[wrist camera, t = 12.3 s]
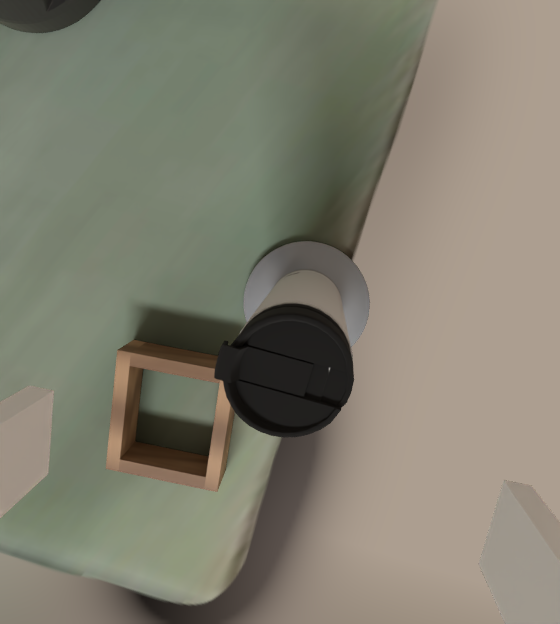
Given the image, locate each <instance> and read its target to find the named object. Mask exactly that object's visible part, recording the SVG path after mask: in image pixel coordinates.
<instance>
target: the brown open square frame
mask: <svg viewBox="0 0 560 624" xmlns="http://www.w3.org/2000/svg"><path fill="white" fill-rule="evenodd" d="M217 358H218V356H216V355H210V354H205V353H200V352H195V351H189V350H184V349H179V348H174V347H169V346H163V345H158V344H153V343H148V342H142V341H137V340H133V341H131V342H130V343H128V344H126V345H125V346H123V347H122V348H120V349H118V350H117V360H116V370H115V380H114V391H113V401H112V411H111V421H110V432H109V442H108V452H107V462H106V469H110V470H114V471H119V472H124V473H129V474H134V475H138V476H143V477H148V478H153V479H158V480H162V481H167V482H172V483H177V484H182V485H186V486H191V487H196V488H201V489H206V490H210V491H215V492H217V491H218V488H219V486H220V483H221V481H222V478H223V476H224V473H225V470H226V463H227V457H228V451H229V444H230V438H231V431H232V425H233V419H234V412H235V411H234V410H233V408H232V407H231V405H230V403H229V401H228V399H227V397H226V393H225V390H224V384H223V381H221V380H218V379H215V378H214V372H215V366H216V362H217ZM143 369H148V370H153V371H159V372H164V373H169V374H174V375H179V376H184V377H189V378H195V379H200V380H205V381H210V382H215V383H220V385H219V392H218V398H217V405H216V412H215V419H214V425H213V432H212V439H211V446H210V453H209V456H204V455H199V454H194V453H189V452H184V451H179V450H174V449H169V448H165V447H160V446H155V445H150V444H145V443H140V442H135V439H136V430H137V420H138V411H139V402H140V393H141V384H142V375H143Z"/></svg>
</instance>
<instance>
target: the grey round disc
mask: <svg viewBox="0 0 560 624" xmlns="http://www.w3.org/2000/svg"><path fill="white" fill-rule="evenodd" d="M300 269H310V270H316V271H318V272H321V273H323V274H324V275H326V276H328V277H329V278H330V279H331V280H332V281H333V282H334V284H335V285H336V287H337V288H338V290H339V293H340V296H341V301H342V306H343V311H344V316H345V320H346V325H347V330H348V335H349V340H350V345H351V347H352V346H353V345H354V344H355V343H356V341H357V340H358V339H359V337H360V335H361V334H362V332H363V330H364V328H365V325H366V322H367V319H368V315H369V302H370V301H369V293H368V288H367V285H366V282H365V280H364V277H363V275H362V274H361V272H360V270H359V268H358V267H357V266H356V265H355V263H354V262H353V261H352V260H351V259H350V258H349V257H348V256H347V255H345V254H344V253H343V252H341V251H340V250H338V249H336V248H334V247H332V246H330V245H327V244H324V243H320V242H313V241H299V242H293V243H289V244H286V245H283V246H281V247H279V248H277V249H275V250H274V251H272V252H270V253H269V254H268V255H266V256H265V257H264V258H263V259H262V260H261V261H260V262H259V263H258V264H257V266H256V267H255V268H254V270H253V271H252V273H251V275H250V277H249V279H248V282H247V285H246V288H245V293H244V313H245V318H246V321H247V322H248V320H249V319H250V317H251V316H252V315H253V314H254V312H255V311H256V310H257V308H258V307H259V306H260V304H261V303H262V302H263V300H264V299H265V298H266V297H267V295H268V294H269V293H270V291H271V290H272V289H273V287H274V286H275V285H276V283H277V282H278V281H279V280H280V279H281V278H282V277H284V276H285V275H286V274H288V273H290V272H293V271H296V270H300Z"/></svg>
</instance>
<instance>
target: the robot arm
mask: <svg viewBox="0 0 560 624" xmlns="http://www.w3.org/2000/svg"><path fill="white" fill-rule="evenodd" d="M99 1H100V0H0V24H2V25H5V26H7V27H9V28H12V29H15V30H19V31H23V32H30V33H46V32H52V31H56V30H60V29H63V28H65V27H68V26H70V25H72V24H74V23H75V22H77V21H79V20H80V19H82V18H83V17H84V16H86V15H87V14H88V13H89V12H90V11H91V10H92V9H93V8H94V7H95V6H96V5H97V4H98V2H99ZM53 395H54V390H49V389H44V388H39V387H34V386H28V387H26V388H24V389H22V390H20V391H19V392H17V393H15V394H13V395H12V396H10V397H8V398H6V399H4V400H3V401H1V402H0V518H1V517H2V516H3V515H4V514H5V513H6V512H7V511H8V510H10V509H11V508H12V507H13V506H14V505H15V504H16V503H17V502H18V501H19V500H20V499H22V498H23V497H24V496H25V495H26V494H27V493H28V492H29V491H30V490H31V489H32V488H33V487H35V486H36V485H37V484H38V483H39V482H40V481H41V480H42V479H43V478H44V477H45V476H46V475H48V469H49V454H50V439H51V425H52V410H53ZM479 566H480V569H481V570H482V573H483V575H484V578H485V580H486V582H487V584H488V587H489V589H490V591H491V593H492V596H493V598H494V600H495V602H496V604H497V607H498V609H499V611H500V614H501V616H502V618H503V620H504V622H505V624H560V522H559V520H558V519H557V518H556V516H555V515H554V514H553V513H552V511H551V510H550V509H549V508H548V506H547V505H546V504H545V502H544V501H543V500H542V498H541V497H540V496H539V495H538V493H537V492H536V491H535V489H534V488H533V487H532V486H531V485H527V484H522V483H517V482H512V481H507V480H504V481H503V484H502V487H501V490H500V494H499V497H498V500H497V504H496V507H495V511H494V514H493V517H492V521H491V524H490V528H489V531H488V534H487V537H486V541H485V544H484V548H483V551H482V554H481V558H480V561H479Z"/></svg>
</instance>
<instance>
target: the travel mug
mask: <svg viewBox="0 0 560 624" xmlns="http://www.w3.org/2000/svg"><path fill="white" fill-rule="evenodd" d="M214 378H215V379H218V380H221V381H223V384H224V390H225V393H226V397H227V399H228V401H229V403H230V405H231V407H232V408H233V410H234V411H235V412H236V414H237V415H238V416H239V417H240V418H241V419H242V420H243V421H244V422H246V423H247V424H248V425H249V426H251V427H253V428H254V429H256V430H258V431H260V432H263V433H266V434H268V435H271V436H278V437H299V436H304V435H308V434H311V433H313V432H315V431H318V430H321V429H322V428H324V427H325V426H327V425H328V424H330V423H331V422H332V421H333V419H334V418H335V417H336V416H337V414H338V413H339V412H340V411H341V407H342V406H344V405H345V404H346V403H347V400H348V398H349V396H350V394H351V391H352V386H353V382H354V375H353V355H352V351H351V345H350V340H349V335H348V330H347V325H346V320H345V316H344V311H343V306H342V301H341V296H340V293H339V290H338V288H337V287H336V285H335V284H334V282H333V281H332V280H331V279H330V278H329V277H328V276H326V275H324V274H323V273H321V272H318V271H316V270H310V269H300V270H296V271H293V272H290V273H288V274H286V275H285V276H284V277H282V278H281V279H280V280H279V281H278V282H277V283H276V285H275V286H274V287H273V289H272V290H271V291H270V293H269V294H268V295H267V297H266V298H265V299H264V300H263V302H262V303H261V304H260V306H259V307H258V308H257V310H256V311H255V312H254V314H253V315H252V316H251V317H250V319H249V320H248V322H247V323H246V324H245V326H244V327H243V329H242V330H241V332H240V333H239V335H238V337H237V338H236V340H235V341H234V342H233V343H232V344H231V345H230V346H229V345H228V341H224V343H223V344H222V346H221V348H220V351H219V354H218V358H217V362H216V366H215V372H214Z"/></svg>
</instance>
